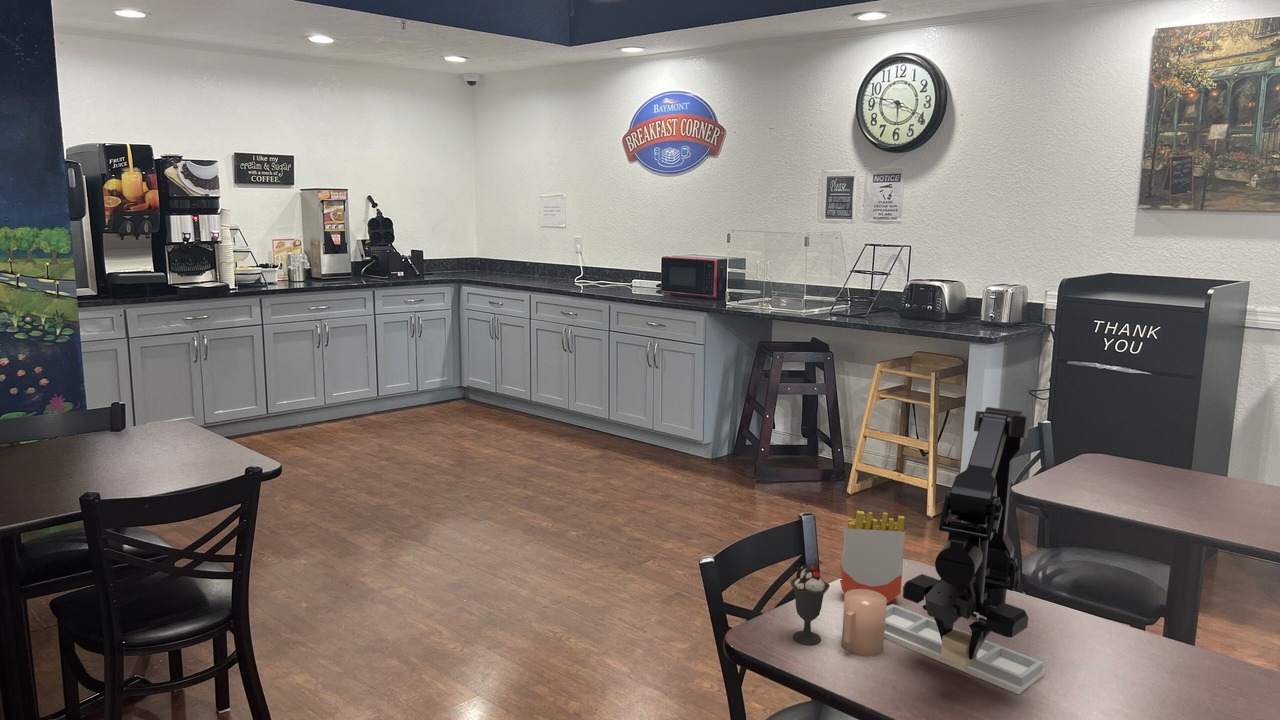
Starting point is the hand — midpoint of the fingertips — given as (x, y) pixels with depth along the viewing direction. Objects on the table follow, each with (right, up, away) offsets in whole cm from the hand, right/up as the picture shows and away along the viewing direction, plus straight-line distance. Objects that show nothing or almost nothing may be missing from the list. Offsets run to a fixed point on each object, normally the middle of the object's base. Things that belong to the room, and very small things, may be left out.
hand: (959, 653), depth 147 cm
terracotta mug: (-13, -2, +10) cm, 17 cm away
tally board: (+2, -3, +9) cm, 10 cm away
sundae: (-22, -2, +13) cm, 26 cm away
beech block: (0, -1, 0) cm, 1 cm away
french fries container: (-7, +1, +29) cm, 30 cm away
